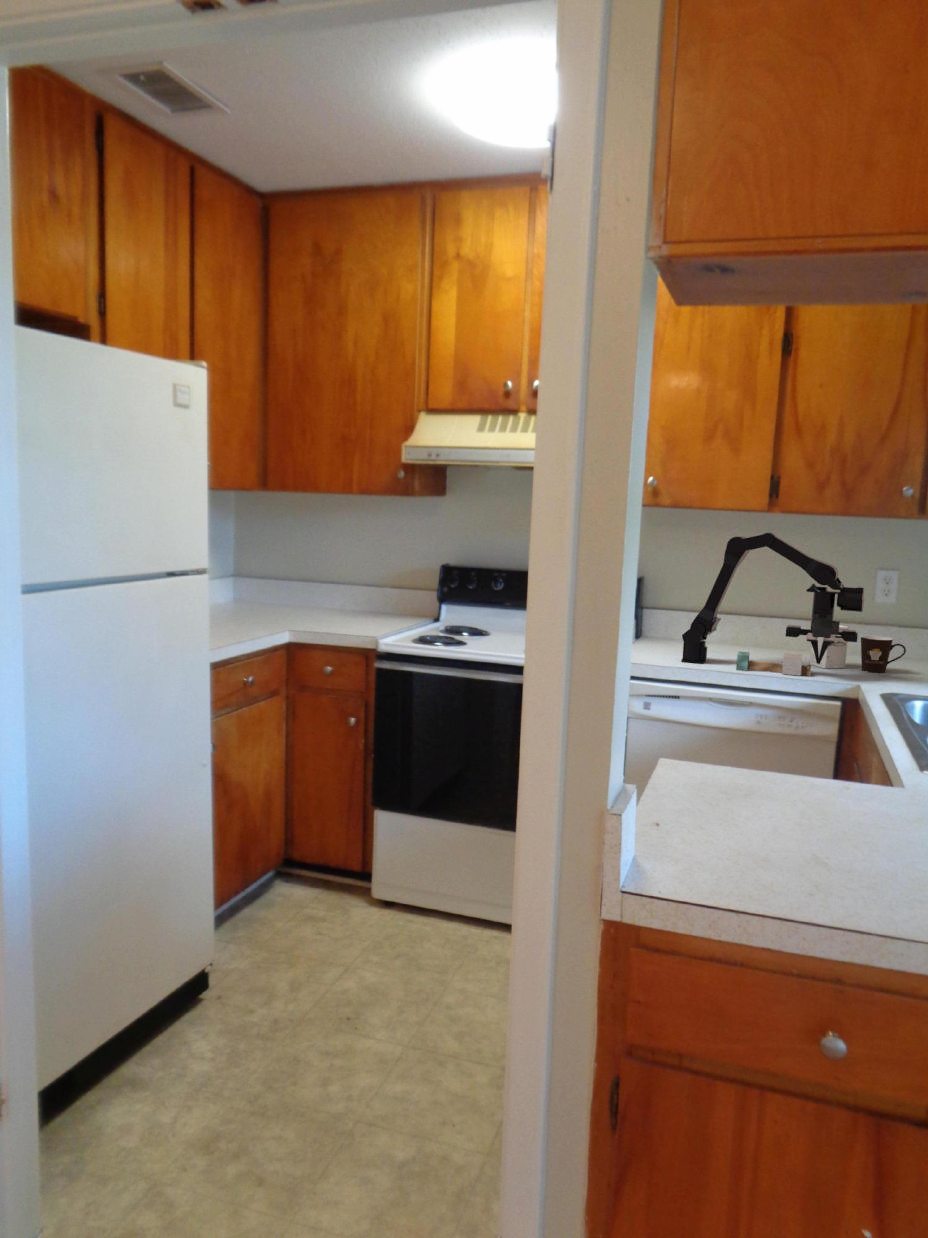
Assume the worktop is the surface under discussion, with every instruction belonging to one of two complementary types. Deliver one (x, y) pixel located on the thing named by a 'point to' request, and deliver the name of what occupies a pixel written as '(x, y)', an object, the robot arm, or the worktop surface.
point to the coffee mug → (876, 653)
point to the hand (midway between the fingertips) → (818, 663)
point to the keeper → (792, 664)
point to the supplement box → (831, 653)
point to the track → (764, 665)
